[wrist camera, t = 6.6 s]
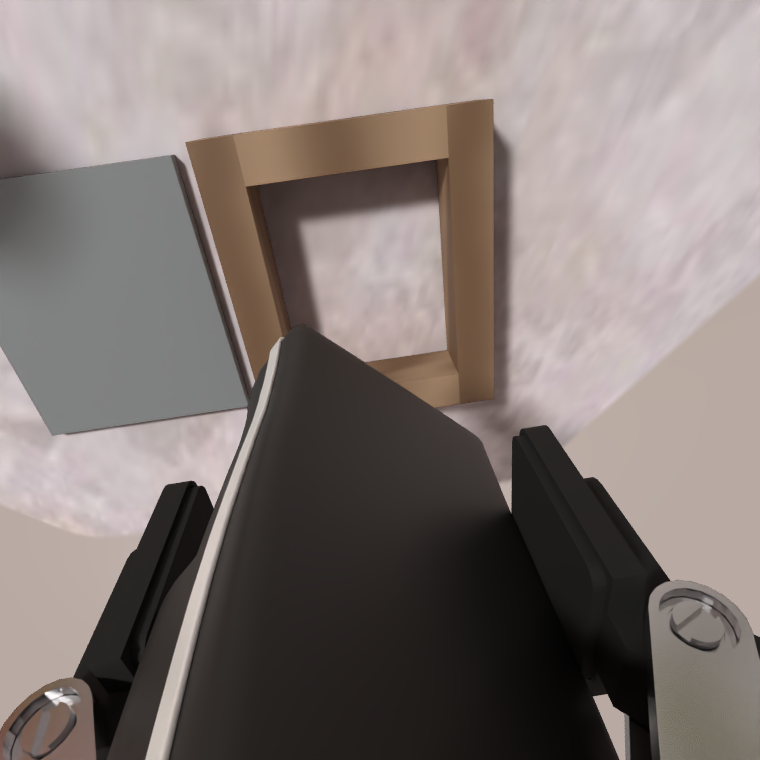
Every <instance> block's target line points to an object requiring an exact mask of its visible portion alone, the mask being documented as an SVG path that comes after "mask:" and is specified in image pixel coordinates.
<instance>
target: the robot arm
mask: <svg viewBox="0 0 760 760" xmlns="http://www.w3.org/2000/svg"><path fill="white" fill-rule="evenodd" d="M213 510H214V508H213V506H212V503H211V501H210V498H209V496H208V494H207V491H206V489H205V487H203V486H197V484H196V483H195V482H194V481H187V482H181V483H175V484H168V485H166V486H165V488H164V489H163V491H162V493H161V496H160V498H159V500H158V502H157V505H156V507H155V509H154V511H153V514H152V516H151V518H150V520H149V523H148V525H147V527H146V529H145V532H144V534H143V536H142V538H141V540H140V543H139V545H138V547H137V549H136V550H135V551H133V552H132V553H131V554H130V556H129V557H128V559H127V561H126V563H125V565H124V567H123V570H122V572H121V574H120V576H119V578H118V581H117V583H116V585H115V587H114V589H113V592H112V594H111V596H110V598H109V600H108V603H107V605H106V607H105V609H104V611H103V613H102V616H101V618H100V620H99V622H98V624H97V627H96V629H95V631H94V633H93V635H92V638H91V640H90V642H89V644H88V646H87V648H86V651H85V653H84V655H83V657H82V659H81V661H80V664H79V666H78V668H77V670H76V672H75V675H74V677H73V678H65V679H59V680H57V681H54V682H52V683H50V684H47V685H45V686H43V687H42V688H41V689H39V690H37V691H36V692H34V693H33V694H31V695H30V696H29V697H28V698H27V699H26V700H24V701H23V702H22V703H21V704H20V705H19V706H18V707H17V708H16V709H15V710H14V711H13V713H12V714H11V715H10V716H9V718H8V719H7V720H6V722H5V723H4V724H3V726H2V728H1V730H0V760H107V757H108V754H109V751H110V748H111V745H112V742H113V739H114V736H115V733H116V730H117V727H118V724H119V721H120V718H121V715H122V712H123V709H124V706H125V703H126V700H127V697H128V694H129V692H130V689H131V686H132V683H133V680H134V677H135V674H136V671H137V669H138V666H139V663H140V660H141V658H142V655H143V652H144V650H145V647H146V644H147V642H148V639H149V636H150V634H151V631H152V628H153V625H154V623H155V620H156V617H157V615H158V612H159V609H160V607H161V604H162V602H163V600H164V598H165V597H166V595H167V593H168V592H169V590H170V589H171V587H172V585H173V584H174V582H175V581H176V580H177V578H178V577H179V576H180V575H181V574H182V572H183V571H184V570H185V569H186V568H187V567H188V565H189V564H190V563H191V562H192V561H193V559H194V558H195V557H196V555H197V553H198V550H199V547H200V544H201V542H202V539H203V536H204V534H205V531H206V528H207V526H208V523H209V520H210V518H211V515H212V513H213ZM511 514H512V517H513V519H514V521H515V523H516V525H517V528H518V530H519V532H520V534H521V536H522V538H523V541H524V543H525V545H526V547H527V549H528V551H529V554H530V556H531V558H532V560H533V562H534V565H535V567H536V569H537V571H538V573H539V576H540V578H541V580H542V582H543V585H544V587H545V589H546V591H547V594H548V596H549V598H550V600H551V603H552V605H553V607H554V610H555V612H556V614H557V617H558V619H559V621H560V623H561V626H562V628H563V630H564V633H565V635H566V637H567V640H568V642H569V644H570V646H571V649H572V651H573V653H574V656H575V658H576V660H577V663H578V665H579V667H580V670H581V671H582V673H583V675H584V677H585V680H586V682H587V684H588V687H589V689H590V691H591V694H592V696H598V695H604V694H608V696H609V698H610V700H611V702H612V704H613V706H614V707H615V708H617V709H618V710H620V711H621V712H623V713H624V714H625V715H624V717H625V749H626V750H625V752H626V760H760V637H758V636H756V635H754V634H753V632H752V629H751V627H750V625H749V623H748V620H747V618H746V617H745V616H744V614H743V613H742V612H741V611H740V609H739V608H738V607H737V606H736V605H735V604H734V603H733V602H731V601H730V600H729V599H728V598H726V597H725V596H724V595H722V594H721V593H719V592H717V591H715V590H713V589H711V588H710V587H708V586H705V585H702V584H698V583H695V582H692V581H681V580H676V581H670V579H669V578H668V577H667V575H666V574H665V572H664V571H663V570H662V568H661V567H660V566H659V564H658V563H657V561H656V560H655V559H654V557H653V556H652V554H651V553H650V552H649V550H648V549H647V547H646V546H645V544H644V543H643V542H642V540H641V539H640V537H639V536H638V535H637V533H636V532H635V530H634V529H633V528H632V527H631V525H630V523H629V522H628V521H627V519H626V518H625V516H624V515H623V514H622V512H621V511H620V509H619V508H618V507H617V505H616V504H615V503H614V501H613V500H612V498H611V497H610V495H609V494H608V492H607V491H606V490H605V488H604V487H603V485H602V484H601V483H600V482H599V481H598V480H597V479H595V478H594V477H591V478H585V479H583V477H582V476H581V475H580V473H579V471H578V470H577V468H576V467H575V466H574V464H573V463H572V461H571V460H570V458H569V457H568V455H567V454H566V452H565V451H564V449H563V448H562V446H561V445H560V443H559V442H558V440H557V439H556V437H555V436H554V434H553V433H552V431H551V430H550V428H549V427H548V426H546V425H543V426H537V427H531V428H524V429H521V430H520V435H519V436H514V437H513V440H512V512H511Z"/></svg>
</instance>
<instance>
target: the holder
mask: <svg viewBox="0 0 760 760" xmlns="http://www.w3.org/2000/svg"><path fill="white" fill-rule="evenodd" d="M185 143H186V146H187V150H188V153H189V157H190V160H191V163H192V167H193V170H194V174H195V177H196V180H197V184H198V187H199V191H200V194H201V198H202V201H203V204H204V208H205V211H206V215H207V218H208V221H209V225H210V228H211V232H212V235H213V239H214V242H215V245H216V249H217V252H218V256H219V259H220V262H221V266H222V269H223V273H224V276H225V280H226V283H227V286H228V290H229V293H230V297H231V300H232V303H233V307H234V310H235V314H236V317H237V321H238V324H239V327H240V331H241V334H242V338H243V341H244V345H245V348H246V351H247V355H248V358H249V362H250V365H251V368H252V372H253V375H254V379H255V382H256V379H257V377H258V374H259V371H260V370H261V369H262V367H263V366H264V364H265V363H266V362H267V360H268V359H269V355H270V351H271V349H272V348H273V347H274V345H275V344H276V342H277V341H278V340H279V338H280V337H285V336H286V335H287V334H288V332H289V331H290V330H291V328H290V324H289V319H288V315H287V311H286V307H285V302H284V298H283V294H282V290H281V285H280V281H279V277H278V273H277V268H276V264H275V260H274V256H273V251H272V247H271V243H270V238H269V234H268V230H267V226H266V221H265V217H264V213H263V209H262V204H261V200H260V196H259V192H258V187H257V185H261V184H268V183H275V182H282V181H289V180H296V179H303V178H310V177H317V176H324V175H331V174H338V173H345V172H352V171H359V170H366V169H373V168H380V167H387V166H394V165H401V164H408V163H415V162H422V161H429V160H436V161H437V179H438V196H439V214H440V232H441V249H442V267H443V284H444V302H445V320H446V337H447V350H446V351H439V352H432V353H425V354H419V355H412V356H405V357H398V358H392V359H385V360H378V361H371V362H365V363H367V364H368V365H370V366H371V367H373V368H374V369H376V370H377V371H379V372H380V373H382V374H384V375H385V376H387V377H388V378H390V379H391V380H393V381H394V382H396V383H398V384H399V385H401V386H402V387H404V388H405V389H407V390H408V391H410V392H411V393H413V394H414V395H416V396H417V397H419V398H420V399H422V400H423V401H425V402H426V403H428V404H429V405H431V406H432V407H434V408H436V407H443V406H450V405H456V404H463V403H470V402H476V401H483V400H490V399H494V141H493V99H486V100H473V101H466V102H459V103H452V104H445V105H438V106H431V107H423V108H416V109H409V110H402V111H395V112H388V113H381V114H374V115H367V116H360V117H352V118H345V119H338V120H331V121H324V122H317V123H310V124H303V125H296V126H289V127H282V128H274V129H267V130H260V131H253V132H246V133H239V134H232V135H225V136H218V137H211V138H203V139H199V140H194V141H190V142H185Z"/></svg>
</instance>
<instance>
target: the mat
mask: <svg viewBox="0 0 760 760" xmlns="http://www.w3.org/2000/svg"><path fill="white" fill-rule="evenodd" d="M0 346H1V348H2V350H3V351H4V353H5V355H6V357H7V358H8V360H9V362H10V364H11V365H12V367H13V369H14V370H15V372H16V374H17V376H18V377H19V379H20V381H21V383H22V384H23V386H24V388H25V389H26V391H27V393H28V395H29V396H30V398H31V400H32V402H33V403H34V405H35V407H36V409H37V410H38V412H39V414H40V415H41V417H42V419H43V421H44V422H45V424H46V426H47V428H48V429H49V431H50V433H51V434H52V435H59V434H66V433H73V432H79V431H86V430H93V429H100V428H106V427H113V426H120V425H126V424H133V423H140V422H147V421H153V420H160V419H167V418H173V417H180V416H187V415H194V414H200V413H207V412H214V411H220V410H227V409H234V408H241V407H247V405H248V402H249V397H248V393H247V390H246V387H245V384H244V380H243V377H242V374H241V371H240V367H239V364H238V361H237V358H236V354H235V351H234V348H233V344H232V341H231V338H230V335H229V331H228V328H227V325H226V322H225V318H224V315H223V312H222V309H221V305H220V302H219V299H218V296H217V292H216V289H215V286H214V283H213V279H212V276H211V273H210V269H209V266H208V263H207V260H206V256H205V253H204V250H203V247H202V243H201V240H200V237H199V234H198V230H197V227H196V224H195V221H194V217H193V214H192V211H191V207H190V204H189V201H188V198H187V194H186V191H185V188H184V185H183V181H182V178H181V175H180V172H179V168H178V165H177V162H176V159H175V155H169V156H162V157H155V158H148V159H141V160H134V161H126V162H119V163H112V164H105V165H98V166H91V167H84V168H77V169H70V170H63V171H56V172H49V173H42V174H34V175H27V176H20V177H13V178H6V179H0Z"/></svg>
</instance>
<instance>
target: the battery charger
mask: <svg viewBox="0 0 760 760" xmlns="http://www.w3.org/2000/svg"><path fill="white" fill-rule="evenodd" d="M247 410H248V413H247V420H246V424H245V428H244V431H243V434H242V438H241V441H240V444H239V447H238V449H237V452H236V454H235V456H234V459H233V461H232V464H231V466H230V469H229V471H228V473H227V476H226V478H225V481H224V484H223V486H222V489H221V491H220V494H219V497H218V499H217V502H216V504H215V507H214V510H213V513H212V515H211V518H210V520H209V523H208V526H207V528H206V531H205V534H204V536H203V539H202V542H201V544H200V547H199V550H198V553H197V555H196V557H195V558H194V559H193V561H192V562H191V563H190V564H189V565H188V567H187V568H186V569H185V570H184V571H183V572H182V574H181V575H180V576H179V577H178V578H177V580H176V581H175V582H174V584H173V585H172V587H171V589H170V590H169V592H168V593H167V595H166V597H165V598H164V600H163V602H162V604H161V607H160V609H159V612H158V615H157V617H156V620H155V623H154V625H153V628H152V631H151V634H150V636H149V639H148V642H147V644H146V647H145V650H144V652H143V655H142V658H141V660H140V663H139V666H138V669H137V671H136V674H135V677H134V680H133V683H132V686H131V689H130V692H129V694H128V697H127V700H126V703H125V706H124V709H123V712H122V715H121V718H120V721H119V724H118V727H117V730H116V733H115V736H114V739H113V742H112V745H111V748H110V751H109V754H108V757H107V760H619V758H618V755H617V753H616V751H615V748H614V746H613V743H612V741H611V739H610V736H609V734H608V732H607V729H606V727H605V724H604V722H603V720H602V717H601V715H600V712H599V710H598V708H597V705H596V703H595V701H594V699H593V696H592V694H591V691H590V689H589V687H588V684H587V682H586V680H585V677H584V675H583V673H582V671H581V670H580V667H579V665H578V663H577V660H576V658H575V656H574V653H573V651H572V649H571V646H570V644H569V642H568V640H567V637H566V635H565V633H564V630H563V628H562V626H561V623H560V621H559V619H558V617H557V614H556V612H555V610H554V607H553V605H552V603H551V600H550V598H549V596H548V594H547V591H546V589H545V587H544V585H543V582H542V580H541V578H540V576H539V573H538V571H537V569H536V567H535V565H534V562H533V560H532V558H531V556H530V554H529V551H528V549H527V547H526V545H525V543H524V541H523V538H522V536H521V534H520V532H519V530H518V528H517V525H516V523H515V521H514V519H513V517H512V514H511V512H510V510H509V507H508V505H507V503H506V501H505V498H504V496H503V493H502V491H501V488H500V486H499V483H498V481H497V478H496V476H495V474H494V471H493V469H492V466H491V464H490V461H489V459H488V456H487V454H486V451H485V449H484V446H483V443H482V441H481V440H480V439H479V438H478V437H477V436H476V435H474V434H473V433H471V432H470V431H468V430H467V429H465V428H464V427H462V426H461V425H459V424H458V423H456V422H455V421H453V420H452V419H450V418H449V417H448V416H446V415H445V414H443V413H441V412H440V411H438V410H437V409H435V408H434V407H432V406H431V405H429V404H428V403H426V402H425V401H423V400H422V399H420V398H419V397H417V396H416V395H414V394H413V393H411V392H410V391H408V390H407V389H405V388H404V387H402V386H401V385H399V384H398V383H396V382H394V381H393V380H391V379H390V378H388V377H387V376H385V375H384V374H382V373H380V372H379V371H377V370H376V369H374V368H373V367H371V366H370V365H368V364H367V363H365V362H363V361H362V360H360V359H359V358H357V357H356V356H354V355H353V354H351V353H349V352H348V351H346V350H345V349H343V348H342V347H340V346H338V345H337V344H335V343H334V342H332V341H331V340H329V339H327V338H326V337H324V336H323V335H321V334H319V333H318V332H316V331H315V330H313V329H312V328H310V327H308V326H306V325H297V326H294V327H293V328H292V329H291V330H290V331H289V332H288V334H287V335H286V336H285V337H280V338H279V340H278V341H277V342H276V344H275V345H274V347H273V348H272V349H271V351H270V355H269V359H268V360H267V362H266V363H265V364H264V366H263V367H262V369H261V370H260V371H259V374H258V377H257V379H256V382H255V384H254V386H253V388H252V393H251V397H250V400H249V402H248V405H247Z"/></svg>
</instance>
